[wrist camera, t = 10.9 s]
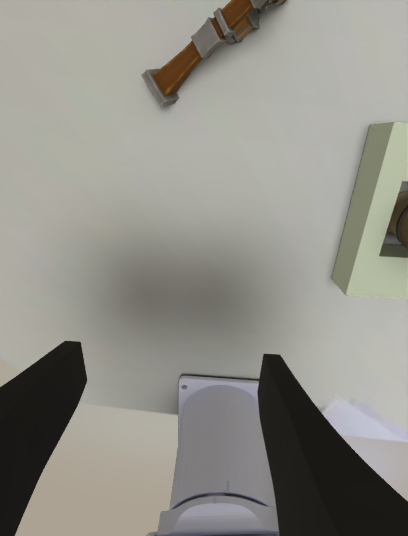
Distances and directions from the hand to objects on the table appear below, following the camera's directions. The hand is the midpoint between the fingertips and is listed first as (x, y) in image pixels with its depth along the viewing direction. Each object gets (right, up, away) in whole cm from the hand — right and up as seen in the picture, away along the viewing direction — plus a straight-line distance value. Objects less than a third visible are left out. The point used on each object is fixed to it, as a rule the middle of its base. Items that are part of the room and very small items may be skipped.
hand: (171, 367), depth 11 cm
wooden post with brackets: (+2, +16, +5) cm, 17 cm away
